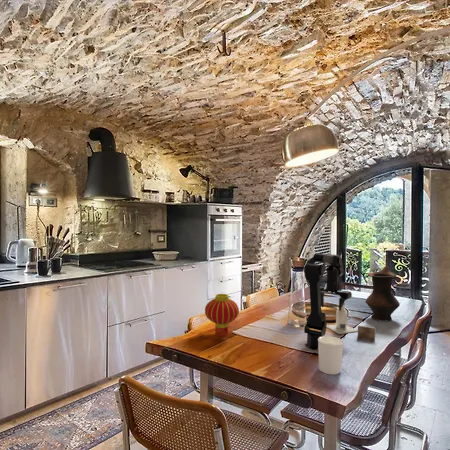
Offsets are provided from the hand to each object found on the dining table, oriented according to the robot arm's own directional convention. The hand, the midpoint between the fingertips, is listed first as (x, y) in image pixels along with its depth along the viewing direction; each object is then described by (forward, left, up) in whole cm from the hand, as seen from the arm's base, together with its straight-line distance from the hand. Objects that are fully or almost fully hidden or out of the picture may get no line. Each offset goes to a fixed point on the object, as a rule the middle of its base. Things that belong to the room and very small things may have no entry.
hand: (331, 308), depth 182 cm
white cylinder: (-26, -34, -13) cm, 45 cm away
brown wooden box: (+13, -11, -13) cm, 22 cm away
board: (+10, +4, -13) cm, 17 cm away
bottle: (+10, +4, -12) cm, 16 cm away
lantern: (-54, +16, -13) cm, 58 cm away
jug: (+46, +12, -13) cm, 49 cm away
